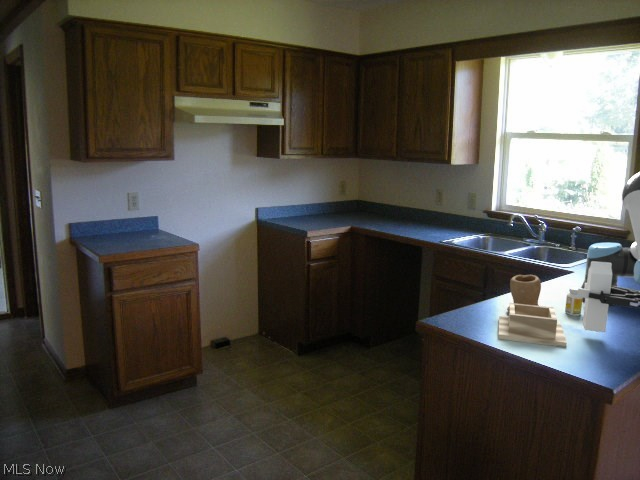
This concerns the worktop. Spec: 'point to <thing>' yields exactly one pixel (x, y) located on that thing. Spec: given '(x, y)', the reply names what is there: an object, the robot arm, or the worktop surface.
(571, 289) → the supplement bottle
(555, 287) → the worktop surface
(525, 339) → the wooden stepped stand
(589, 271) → the milk
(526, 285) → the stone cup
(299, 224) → the worktop surface
